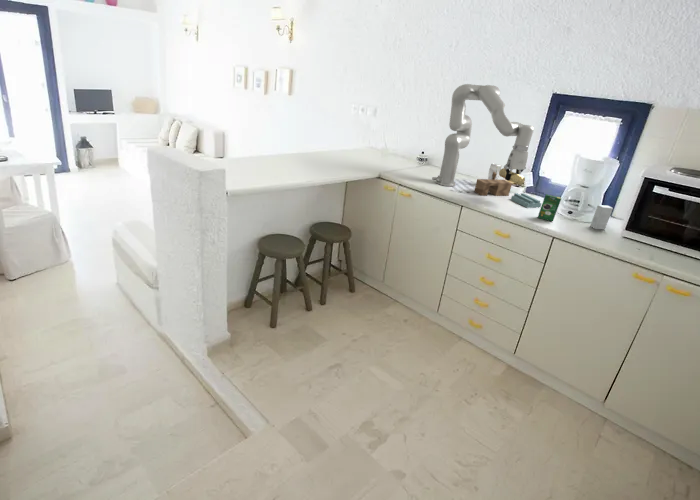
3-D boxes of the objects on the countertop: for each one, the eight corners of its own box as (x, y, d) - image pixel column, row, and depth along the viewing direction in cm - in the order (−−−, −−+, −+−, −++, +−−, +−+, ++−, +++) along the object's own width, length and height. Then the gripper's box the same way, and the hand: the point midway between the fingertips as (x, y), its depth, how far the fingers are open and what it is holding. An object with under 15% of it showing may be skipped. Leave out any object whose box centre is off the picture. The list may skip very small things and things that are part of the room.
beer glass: (496, 189, 265) (502, 166, 259) (485, 188, 266) (491, 165, 260) (495, 187, 271) (501, 164, 265) (484, 185, 272) (490, 163, 266)
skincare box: (599, 226, 219) (608, 205, 214) (604, 229, 215) (613, 208, 210) (589, 225, 218) (597, 204, 213) (594, 229, 214) (603, 207, 209)
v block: (526, 207, 236) (528, 201, 234) (510, 199, 247) (512, 193, 246) (540, 207, 239) (542, 201, 237) (523, 199, 251) (525, 193, 249)
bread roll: (523, 185, 228) (526, 176, 226) (516, 185, 227) (518, 176, 225) (504, 176, 242) (507, 168, 240) (497, 176, 240) (500, 168, 238)
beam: (481, 195, 248) (485, 183, 244) (474, 191, 254) (477, 179, 251) (508, 195, 255) (512, 183, 251) (500, 191, 261) (503, 179, 258)
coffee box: (553, 220, 219) (561, 197, 213) (553, 222, 217) (561, 198, 211) (537, 216, 222) (545, 193, 217) (537, 218, 220) (544, 194, 214)
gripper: (512, 149, 220) (503, 181, 228) (537, 150, 226) (527, 182, 233) (503, 145, 226) (494, 177, 234) (528, 147, 232) (518, 178, 240)
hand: (511, 179), depth 234 cm, fingers closed on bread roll, 5 cm apart
